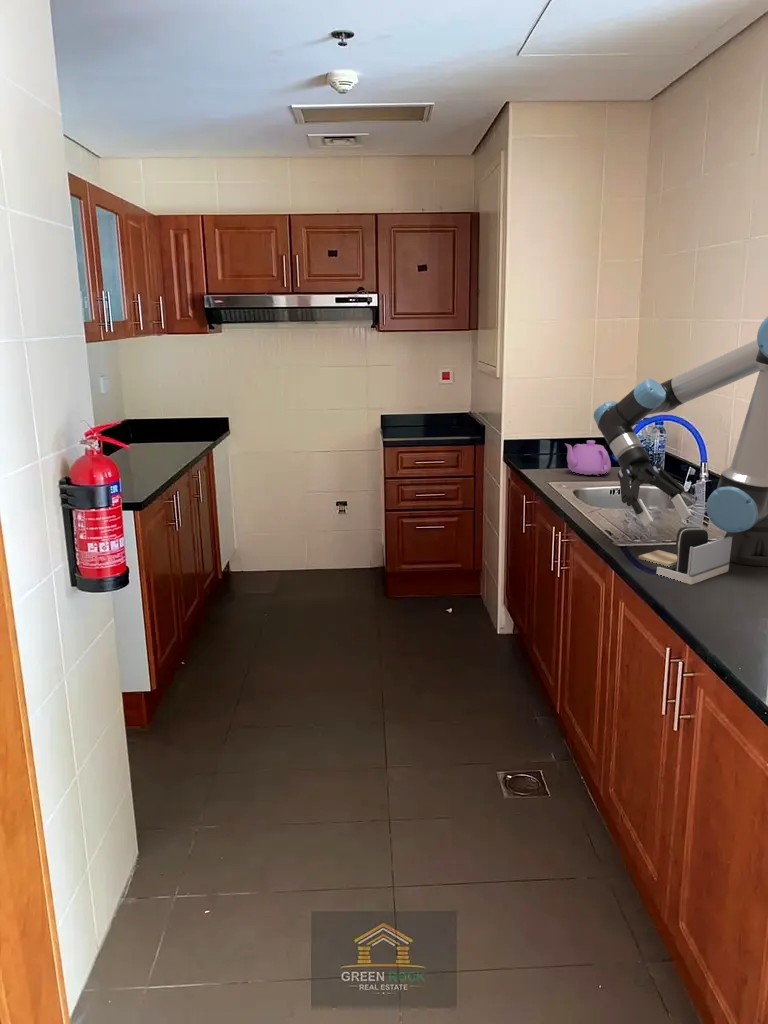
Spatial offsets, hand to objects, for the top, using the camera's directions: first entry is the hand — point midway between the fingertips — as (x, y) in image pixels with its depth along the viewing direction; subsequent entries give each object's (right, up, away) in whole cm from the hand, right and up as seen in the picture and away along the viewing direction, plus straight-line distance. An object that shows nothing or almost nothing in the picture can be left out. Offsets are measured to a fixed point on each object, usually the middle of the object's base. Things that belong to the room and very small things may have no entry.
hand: (668, 520), depth 196 cm
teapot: (+10, +18, +121) cm, 123 cm away
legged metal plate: (+4, -13, -4) cm, 14 cm away
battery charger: (+4, -13, -3) cm, 14 cm away
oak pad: (+1, -10, +7) cm, 12 cm away
